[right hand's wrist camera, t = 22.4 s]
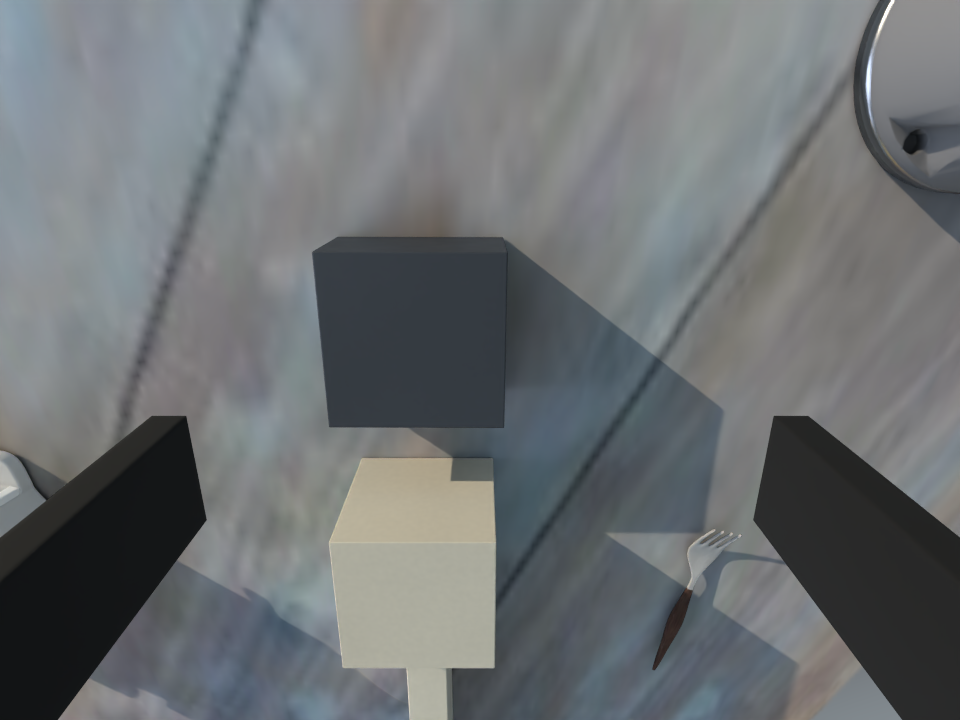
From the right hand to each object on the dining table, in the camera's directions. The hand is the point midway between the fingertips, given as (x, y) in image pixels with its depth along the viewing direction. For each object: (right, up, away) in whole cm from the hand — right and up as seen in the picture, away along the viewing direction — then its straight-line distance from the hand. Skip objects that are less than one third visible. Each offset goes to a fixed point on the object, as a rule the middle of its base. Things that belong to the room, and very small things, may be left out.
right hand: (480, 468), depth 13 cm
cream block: (-4, -21, +36) cm, 42 cm away
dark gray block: (-4, +5, +26) cm, 27 cm away
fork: (+17, -17, +35) cm, 42 cm away
